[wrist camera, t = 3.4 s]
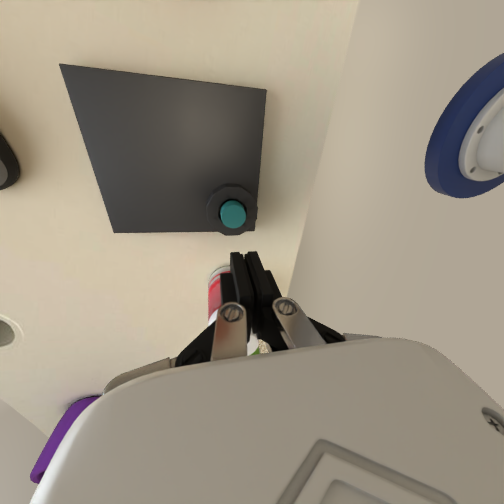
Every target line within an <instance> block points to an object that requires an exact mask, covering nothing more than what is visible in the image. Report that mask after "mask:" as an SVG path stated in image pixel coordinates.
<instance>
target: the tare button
mask: <svg viewBox="0 0 504 504" xmlns="http://www.w3.org/2000/svg"><path fill="white" fill-rule="evenodd" d="M220 213H221V220H222V222H223V224H224V225H225V226H227V227H229V228H238V227H240V226H241V225H242V224H243V223H244V222H245V219H246V213H245V210H244V208H243V206H242V205H241V204H240V203H239V202H237V201H233V200H231V201H227V202H226V203H224V204H223V206H222V207H221V211H220Z"/></svg>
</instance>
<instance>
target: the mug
mask: <svg viewBox="0 0 504 504" xmlns="http://www.w3.org/2000/svg"><path fill="white" fill-rule="evenodd" d="M100 397H101V396H97V397H89V398H85V399H82V400H80V401H78V402H76V403H74V404H73V405H71V406H70V407H69V408H68V410H67V411H66V412H65V414H64V415H63V417H62V418H61V420H60V421H59V423H58V424H57V426H56V428H55V429H54V431H53V433H52V435H51V436H50V438H49V440H48V442H47V443H46V445H45V447H44V449H43V451H42V453H41V455H40V456H39V458H38V460H37V462H36V464H35V466H34V468H33V470H32V472H31V474H30V478H31V481H33V482H34V483H38V484H39V483H40V481H41V479H42V477H43V475H44V473H45V471H46V469H47V467H48V465H49V463H50V461H51V459H52V458H53V456H54V454H55V452H56V450H57V448H58V447H59V445H60V443H61V441H62V440H63V438H64V436H65V435H66V433H67V432H68V430H69V429H70V427H71V426H72V424H73V423H74V421H75V420H76V419H77V417H78V416H79V415H80V414H81V413H82V412H83V411H84V410H85V409H86V408H87V407H88V406H89V405H90V404H91V403H93V402H94V401H95V400H97V399H98V398H100Z"/></svg>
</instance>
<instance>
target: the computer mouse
mask: <svg viewBox="0 0 504 504" xmlns="http://www.w3.org/2000/svg"><path fill="white" fill-rule="evenodd" d="M18 173H19V170H18V165H17V162H16V159H15V157H14V155H13V154H12V152H11V150H10V149H9V147H8V146H7V144H6V143H5V141H4V140H3V138H2V137H1V136H0V190H2V189H5V188H7V187H9V186H11V185H12V184H13V183H14V182H15V181H16V179H17V178H18Z"/></svg>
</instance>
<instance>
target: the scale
mask: <svg viewBox="0 0 504 504" xmlns="http://www.w3.org/2000/svg"><path fill="white" fill-rule="evenodd" d="M59 66H60V69H61V72H62V75H63V78H64V81H65V84H66V87H67V90H68V93H69V97H70V100H71V103H72V106H73V109H74V112H75V115H76V118H77V121H78V124H79V127H80V130H81V133H82V136H83V140H84V143H85V146H86V149H87V152H88V155H89V158H90V161H91V164H92V167H93V170H94V173H95V176H96V179H97V183H98V186H99V189H100V192H101V195H102V198H103V201H104V204H105V207H106V210H107V213H108V216H109V219H110V222H111V226H112V229H113V232H114V233H151V232H220V233H222V234H224V235H240V234H242V233H244V232H245V231H255V221H256V219H257V210H258V207H257V197H258V185H259V174H260V162H261V150H262V138H263V127H264V115H265V103H266V91H267V90H266V89H258V88H250V87H242V86H234V85H226V84H218V83H210V82H202V81H194V80H186V79H179V78H171V77H163V76H155V75H147V74H139V73H131V72H123V71H115V70H107V69H99V68H91V67H83V66H75V65H67V64H59ZM231 200H233V201H237V202H239V203H240V204H241V205H242V206H243V208H244V210H245V213H246V219H245V222H244V223H243V224H242V225H241V226H240V227H238V228H229V227H227V226H225V225H224V224H223V222H222V220H221V213H220V211H221V207H222V206H223V204H224V203H226V202H227V201H231Z"/></svg>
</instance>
